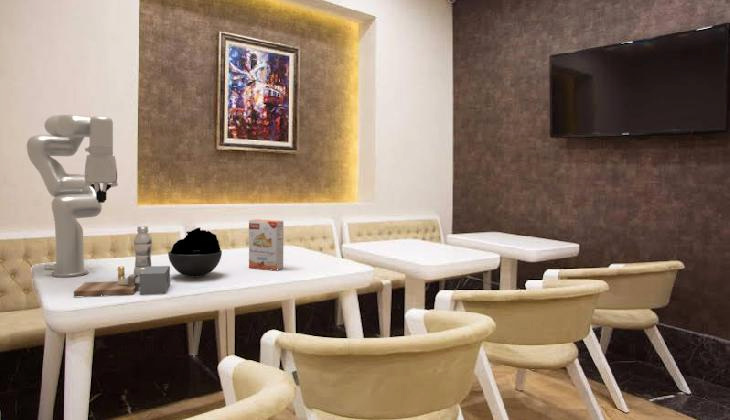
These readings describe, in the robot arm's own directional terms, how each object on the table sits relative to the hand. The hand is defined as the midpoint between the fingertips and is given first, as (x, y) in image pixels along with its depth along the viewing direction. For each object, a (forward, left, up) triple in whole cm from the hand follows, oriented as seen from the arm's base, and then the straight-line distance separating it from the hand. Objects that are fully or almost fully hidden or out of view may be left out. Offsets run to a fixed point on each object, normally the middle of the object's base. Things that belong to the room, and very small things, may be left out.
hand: (101, 202), depth 192 cm
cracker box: (+60, +19, -30) cm, 70 cm away
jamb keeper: (+20, -15, -30) cm, 39 cm away
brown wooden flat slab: (+5, -15, -30) cm, 34 cm away
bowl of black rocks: (+32, +6, -30) cm, 44 cm away
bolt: (+14, -15, -27) cm, 34 cm away
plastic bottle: (+13, +5, -30) cm, 33 cm away
